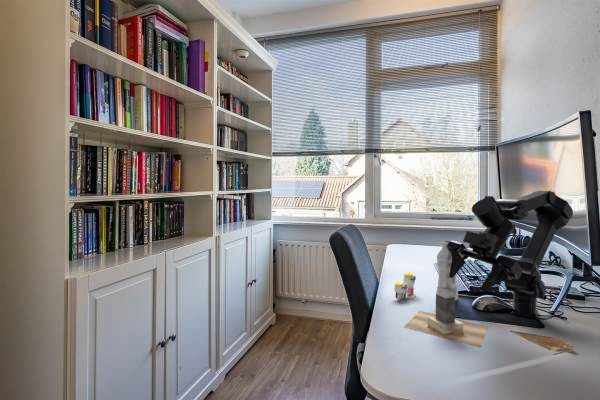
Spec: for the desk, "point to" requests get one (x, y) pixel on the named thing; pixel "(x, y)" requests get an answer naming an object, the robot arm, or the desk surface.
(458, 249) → the robot arm
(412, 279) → the toy figures
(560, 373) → the desk surface
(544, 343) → the shard
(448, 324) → the grey block on base
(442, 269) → the plastic bottle
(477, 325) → the oak board
